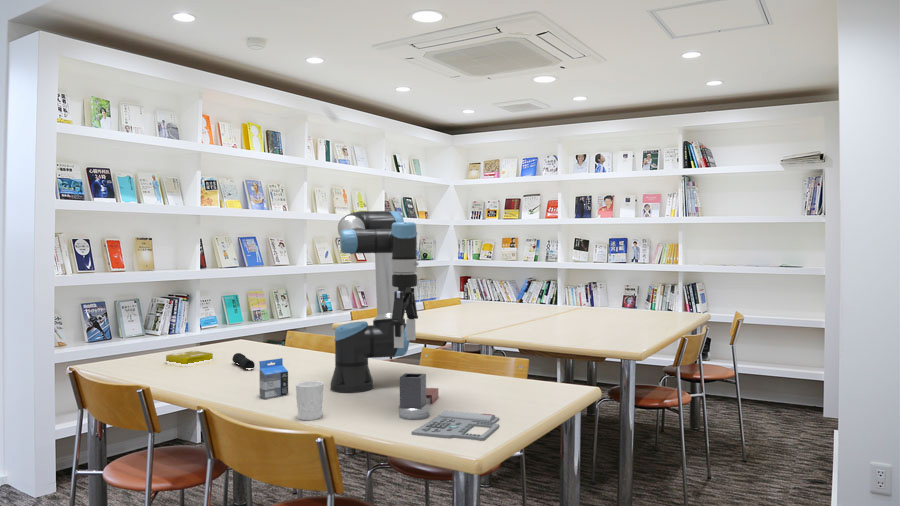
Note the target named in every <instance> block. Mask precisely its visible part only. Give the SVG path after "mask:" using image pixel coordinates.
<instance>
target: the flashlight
mask: <svg viewBox="0 0 900 506" xmlns="http://www.w3.org/2000/svg"><path fill="white" fill-rule="evenodd" d="M231 358H232V362H233V363H234V362H235V363H238V364H239V365H238V366H240V365H241V366H240V367H242V368H244V369H245V370H246V368H253V369H254V368H255V365H256V364H255V362H254V360H251V359H249V358H248V357H247V356H246V355H244V354H243V353H241V352H240V353H239V352H236V353H234V355H233V356H232V357H231ZM235 363H234V364H235Z"/></svg>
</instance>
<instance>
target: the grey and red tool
mask: <svg viewBox="0 0 900 506" xmlns="http://www.w3.org/2000/svg"><path fill="white" fill-rule="evenodd" d="M438 399H439V388H438V387H426V405H425V406H424V407H423V408H422V409H408V408H400V405H399V406H398V415H399V416H398V417H399V418H400V419H401V420H406V421H421V420H425V419H428V418H429V417H430V416H431V415H430V406H432V405H433V404H434V403H435V402H436V401H437V400H438Z"/></svg>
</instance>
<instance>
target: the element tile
mask: <svg viewBox="0 0 900 506" xmlns="http://www.w3.org/2000/svg"><path fill="white" fill-rule="evenodd" d="M213 355H214V354H213V353H212V352H205V351H199V350H198V351H197V350H191V351H182V352H175V353H171V354H166V356H165V362H166V361H169V362H176V363H181V364H188V363H194V362H199V361H204V360H210V359H213V360H214V358H213V357H214V356H213Z"/></svg>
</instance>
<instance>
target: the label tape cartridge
mask: <svg viewBox="0 0 900 506" xmlns="http://www.w3.org/2000/svg"><path fill="white" fill-rule="evenodd" d="M283 360H284V359H283V358H282V357H281V358H275V359H266V360H260V361H259V398H260V397H261V398H260V399H263V400H267V399H268V398H269V399H273V397H274V398H279V397H284V396H283V395H285V396H289V370H288V369H287V368H286V367H285V366H284V364H283V362H284V361H283ZM271 363H272V364H271ZM278 396H279V397H278Z"/></svg>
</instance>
